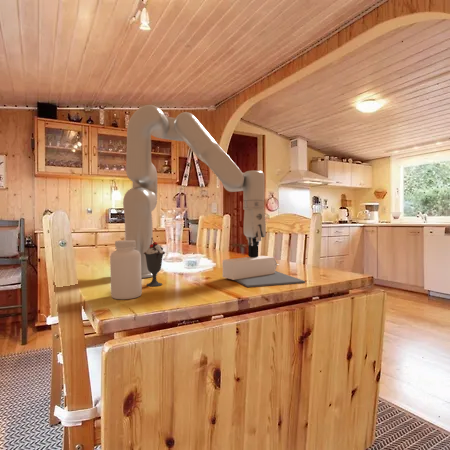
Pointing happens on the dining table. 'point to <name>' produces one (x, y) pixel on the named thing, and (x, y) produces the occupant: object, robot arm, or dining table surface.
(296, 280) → the slate mat
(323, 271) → the dining table surface
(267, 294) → the dining table surface
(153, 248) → the sundae
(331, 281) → the dining table surface
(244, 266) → the milk
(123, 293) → the pill bottle
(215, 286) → the dining table surface
